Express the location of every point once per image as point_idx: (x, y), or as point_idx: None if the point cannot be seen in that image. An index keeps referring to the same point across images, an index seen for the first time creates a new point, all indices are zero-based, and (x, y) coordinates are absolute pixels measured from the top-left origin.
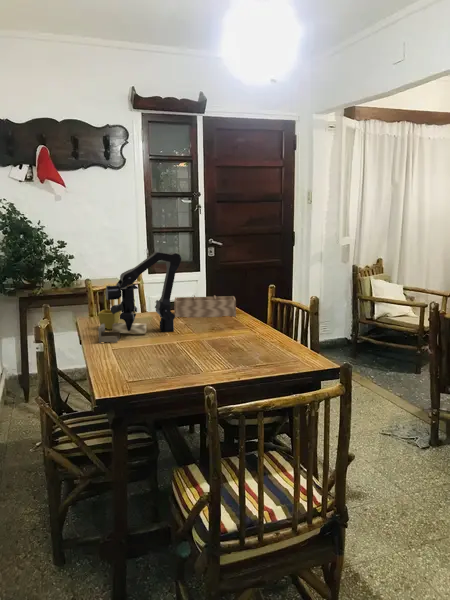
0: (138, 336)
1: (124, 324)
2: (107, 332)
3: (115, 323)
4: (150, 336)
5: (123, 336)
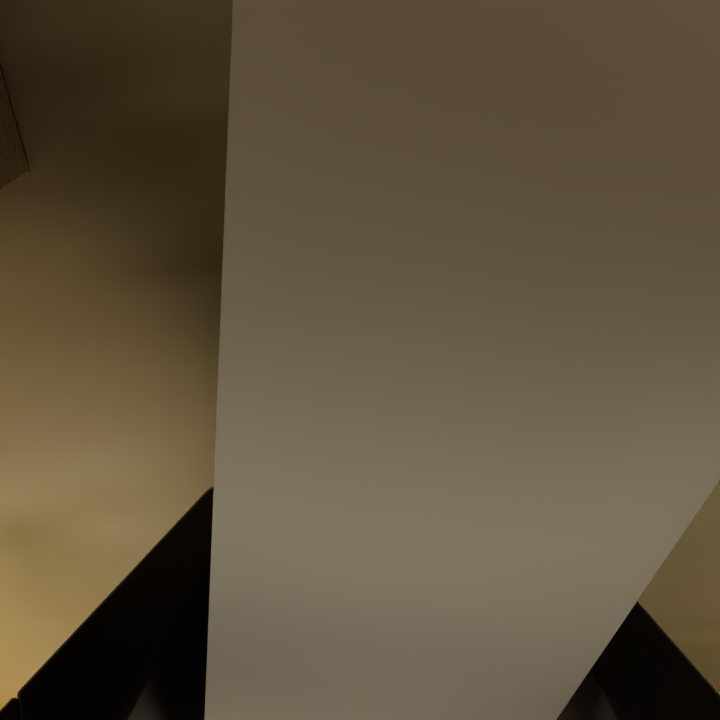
0: None
1: (321, 585)
2: None
3: None
4: None
5: (175, 260)
